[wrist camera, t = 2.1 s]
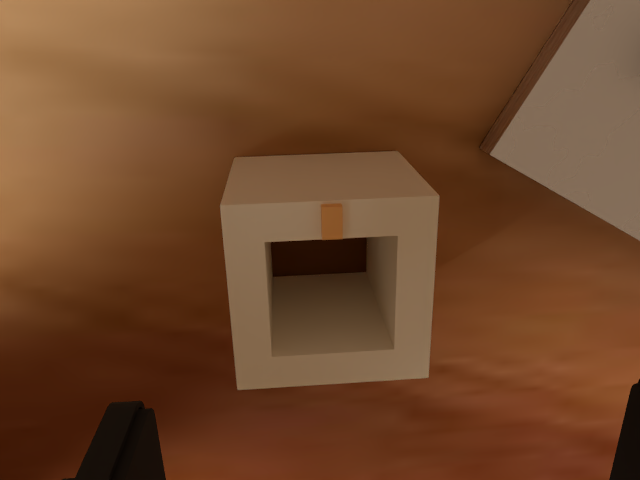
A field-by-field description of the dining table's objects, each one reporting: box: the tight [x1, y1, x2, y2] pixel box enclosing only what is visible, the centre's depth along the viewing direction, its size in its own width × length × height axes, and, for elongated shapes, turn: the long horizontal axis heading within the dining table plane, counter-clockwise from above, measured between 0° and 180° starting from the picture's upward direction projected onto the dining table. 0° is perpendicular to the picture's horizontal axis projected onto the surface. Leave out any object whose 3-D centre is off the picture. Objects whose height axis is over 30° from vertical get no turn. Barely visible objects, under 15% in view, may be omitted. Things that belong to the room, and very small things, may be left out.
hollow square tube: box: [220, 151, 440, 390], centre depth 20 cm, size 6×6×6 cm
